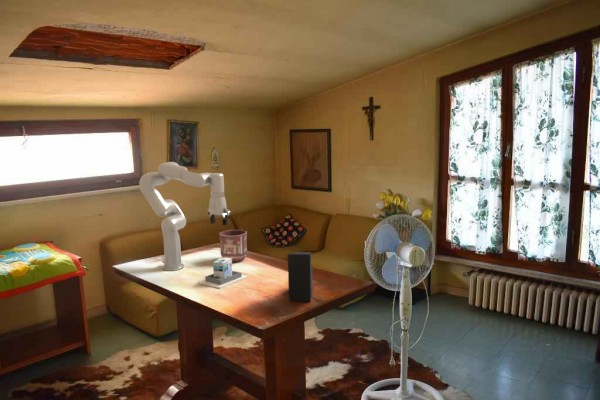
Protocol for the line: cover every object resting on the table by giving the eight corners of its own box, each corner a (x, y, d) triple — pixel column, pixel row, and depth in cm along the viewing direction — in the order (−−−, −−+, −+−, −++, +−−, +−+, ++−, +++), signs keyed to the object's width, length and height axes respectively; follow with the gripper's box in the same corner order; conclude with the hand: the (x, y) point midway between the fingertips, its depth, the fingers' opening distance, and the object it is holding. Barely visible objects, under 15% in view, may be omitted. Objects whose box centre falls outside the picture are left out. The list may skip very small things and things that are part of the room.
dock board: (198, 283, 244) (198, 277, 244) (227, 272, 262) (226, 267, 261) (220, 288, 235) (219, 282, 235) (248, 277, 253) (247, 271, 252)
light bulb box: (224, 282, 243) (224, 262, 241) (213, 281, 244) (212, 262, 243) (232, 276, 253) (232, 257, 251) (221, 275, 255) (221, 256, 253)
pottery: (218, 257, 294) (217, 230, 291) (245, 255, 299) (244, 228, 297) (222, 265, 278) (221, 237, 275) (250, 262, 283) (249, 234, 280)
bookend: (292, 285, 238) (292, 242, 235) (313, 286, 238) (312, 242, 234) (288, 302, 215) (287, 254, 212) (311, 302, 215) (310, 254, 211)
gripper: (202, 194, 260) (203, 223, 263) (224, 196, 250) (225, 226, 253) (211, 193, 266) (213, 221, 269) (233, 195, 256) (234, 224, 259)
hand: (218, 224), depth 261 cm, fingers open, 9 cm apart
